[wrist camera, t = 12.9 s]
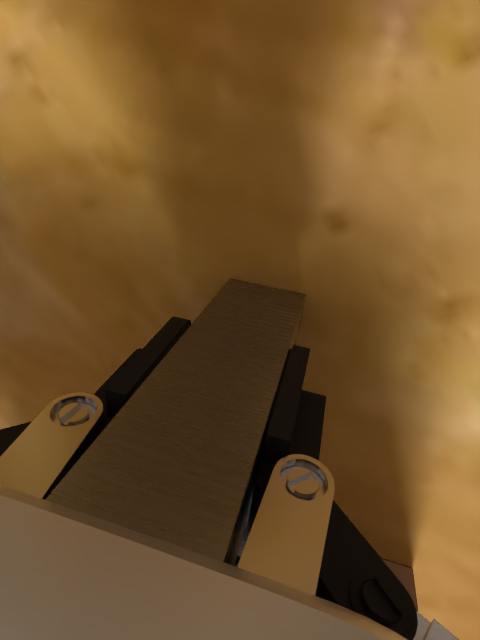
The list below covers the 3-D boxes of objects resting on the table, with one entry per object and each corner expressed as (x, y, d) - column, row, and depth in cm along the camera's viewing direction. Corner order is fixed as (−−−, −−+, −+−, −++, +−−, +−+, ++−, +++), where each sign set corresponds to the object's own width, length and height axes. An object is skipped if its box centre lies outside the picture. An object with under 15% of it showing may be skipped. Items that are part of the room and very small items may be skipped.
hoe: (205, 273, 16) (-102, 571, 5) (331, 300, 15) (269, 725, 4) (186, 505, 22) (36, 841, 12) (272, 533, 21) (192, 923, 11)
